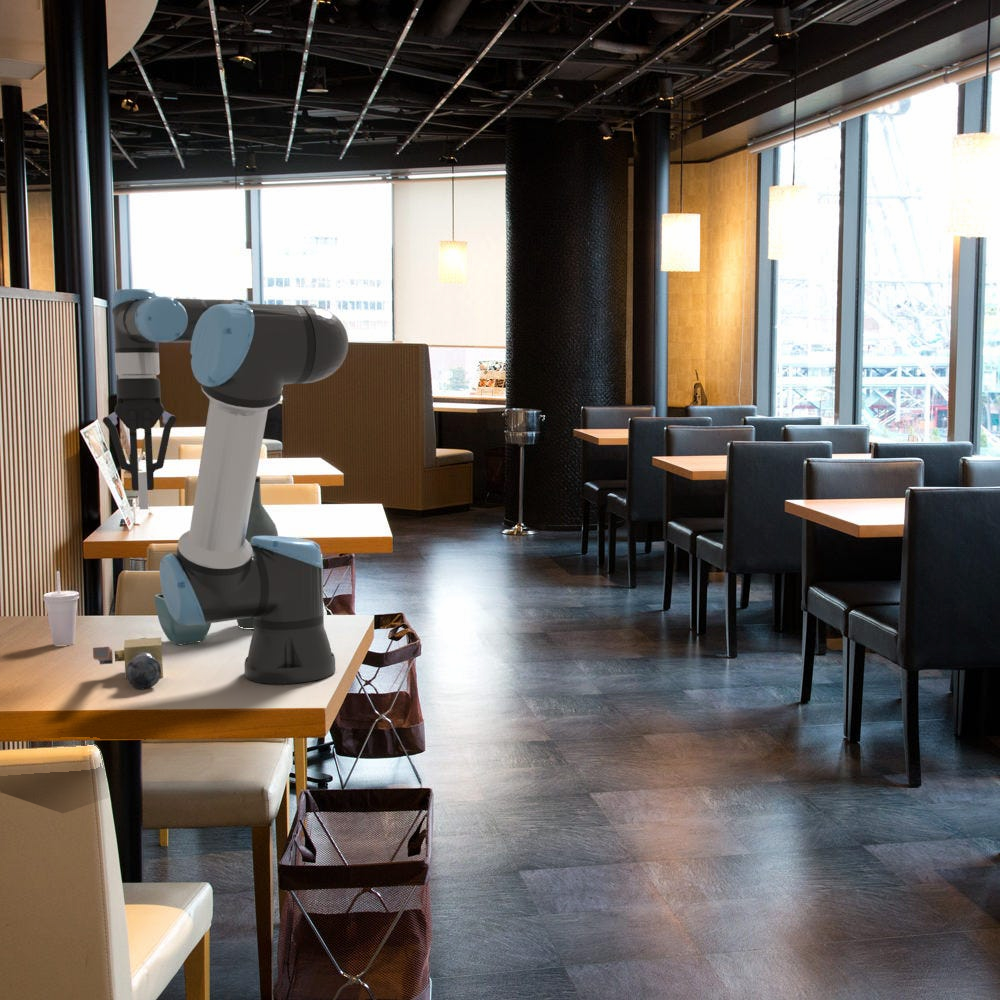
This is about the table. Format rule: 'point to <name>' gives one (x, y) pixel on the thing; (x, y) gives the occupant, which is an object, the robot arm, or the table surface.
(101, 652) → the lever
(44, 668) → the table surface
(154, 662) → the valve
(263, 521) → the bottle
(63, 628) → the smoothie
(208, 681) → the table surface
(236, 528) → the robot arm
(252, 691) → the table surface
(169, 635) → the flower pot
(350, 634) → the table surface
